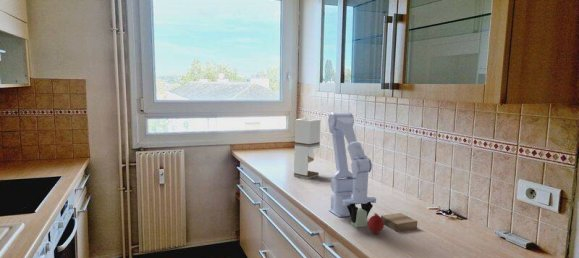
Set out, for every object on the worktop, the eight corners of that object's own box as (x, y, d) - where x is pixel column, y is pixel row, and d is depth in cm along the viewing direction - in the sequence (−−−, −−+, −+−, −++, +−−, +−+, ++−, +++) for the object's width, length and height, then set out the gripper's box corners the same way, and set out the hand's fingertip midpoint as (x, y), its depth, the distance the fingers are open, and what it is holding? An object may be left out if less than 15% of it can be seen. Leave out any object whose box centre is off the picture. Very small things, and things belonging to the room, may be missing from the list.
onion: (381, 230, 145) (382, 210, 144) (385, 236, 139) (386, 215, 139) (366, 230, 145) (367, 210, 144) (369, 236, 139) (370, 215, 138)
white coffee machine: (308, 179, 224) (310, 120, 221) (293, 176, 231) (295, 119, 227) (318, 175, 234) (320, 119, 230) (304, 173, 240) (306, 118, 236)
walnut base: (380, 222, 154) (380, 215, 154) (400, 220, 158) (400, 213, 158) (396, 231, 145) (396, 224, 144) (417, 228, 149) (417, 221, 148)
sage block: (350, 223, 152) (351, 209, 151) (360, 222, 154) (360, 208, 153) (356, 227, 148) (357, 212, 147) (366, 226, 150) (366, 211, 149)
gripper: (349, 192, 143) (348, 227, 144) (381, 189, 148) (379, 222, 150) (340, 187, 149) (339, 220, 151) (370, 184, 155) (369, 216, 156)
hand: (358, 221), depth 151 cm, fingers closed on sage block, 4 cm apart
